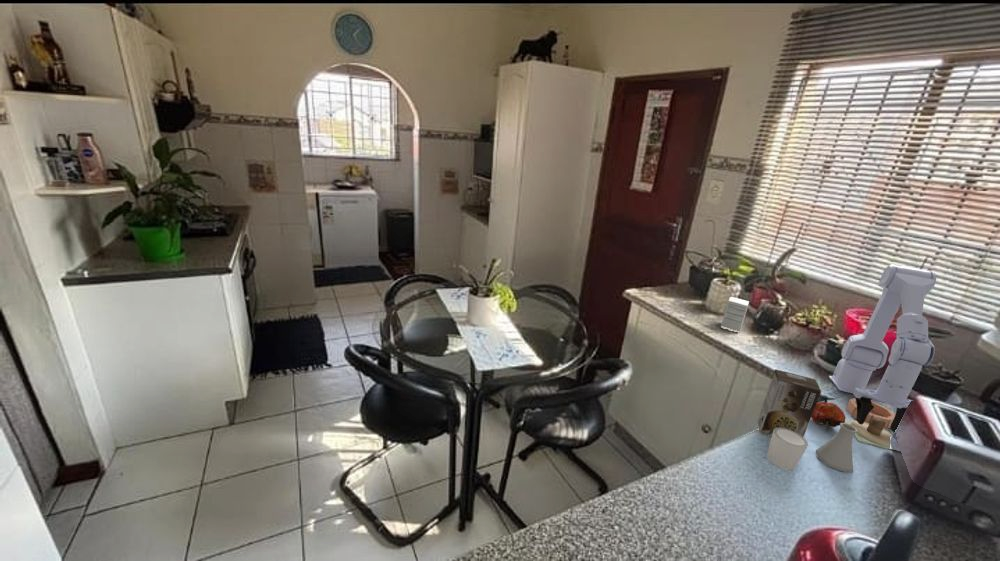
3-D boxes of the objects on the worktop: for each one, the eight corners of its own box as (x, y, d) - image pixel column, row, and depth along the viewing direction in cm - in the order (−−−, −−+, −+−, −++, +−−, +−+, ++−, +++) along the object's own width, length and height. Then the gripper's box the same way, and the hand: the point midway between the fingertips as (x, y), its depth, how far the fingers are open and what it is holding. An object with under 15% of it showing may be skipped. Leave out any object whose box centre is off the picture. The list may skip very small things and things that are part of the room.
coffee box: (795, 431, 109) (816, 379, 103) (800, 446, 103) (823, 391, 98) (756, 419, 112) (774, 368, 107) (759, 433, 106) (779, 379, 101)
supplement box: (722, 323, 179) (730, 296, 175) (741, 328, 175) (750, 301, 171) (719, 328, 173) (727, 300, 169) (739, 333, 169) (748, 305, 165)
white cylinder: (792, 456, 99) (802, 432, 97) (802, 476, 93) (813, 451, 91) (760, 447, 101) (769, 423, 99) (768, 466, 95) (778, 441, 92)
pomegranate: (840, 443, 110) (842, 409, 115) (847, 432, 105) (849, 397, 109) (806, 433, 114) (809, 401, 119) (811, 422, 109) (814, 389, 114)
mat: (841, 418, 117) (841, 417, 117) (885, 429, 114) (886, 428, 114) (857, 441, 108) (858, 439, 107) (906, 454, 105) (907, 452, 104)
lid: (844, 418, 116) (850, 405, 115) (885, 429, 114) (891, 415, 112) (859, 438, 108) (865, 424, 107) (902, 450, 105) (910, 436, 104)
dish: (841, 402, 125) (845, 394, 124) (880, 412, 122) (884, 404, 121) (856, 421, 116) (860, 412, 115) (899, 432, 113) (903, 423, 112)
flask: (859, 476, 95) (876, 440, 92) (825, 468, 96) (840, 433, 93) (841, 454, 102) (856, 421, 99) (809, 448, 103) (823, 414, 100)
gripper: (870, 382, 104) (850, 427, 108) (942, 398, 100) (918, 444, 104) (858, 369, 110) (839, 412, 115) (924, 384, 106) (902, 428, 111)
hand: (876, 426), depth 110 cm, fingers open, 7 cm apart
